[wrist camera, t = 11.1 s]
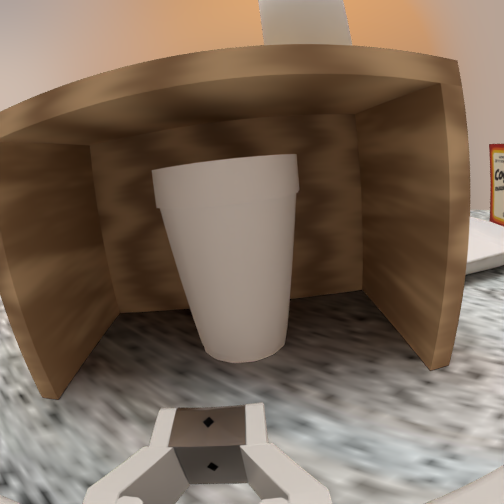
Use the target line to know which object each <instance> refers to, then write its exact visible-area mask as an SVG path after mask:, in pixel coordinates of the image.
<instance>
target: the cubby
mask: <svg viewBox="0 0 504 504" xmlns="http://www.w3.org/2000/svg"><path fill="white" fill-rule="evenodd" d="M466 122H467V121H466V112H465V105H464V98H463V90H462V84H461V79H460V72H459V67H458V62H457V61H456V60H452V59H447V58H443V57H437V56H432V55H427V54H421V53H415V52H408V51H401V50H393V49H384V48H375V47H364V46H350V45H329V44H283V45H261V46H248V47H236V48H226V49H217V50H210V51H202V52H196V53H189V54H183V55H177V56H172V57H167V58H162V59H156V60H152V61H147V62H143V63H138V64H135V65H130V66H126V67H122V68H118V69H115V70H111V71H107V72H104V73H100V74H97V75H94V76H91V77H87V78H84V79H81V80H78V81H75V82H72V83H69V84H66V85H63V86H61V87H58V88H55V89H53V90H50V91H48V92H45V93H42V94H40V95H37V96H35V97H32V98H30V99H27V100H25V101H23V102H20V103H18V104H16V105H14V106H12V107H9V108H8V109H5V110H3V111H1V112H0V295H1V298H2V301H3V304H4V307H5V310H6V313H7V316H8V319H9V322H10V325H11V327H12V330H13V333H14V335H15V338H16V340H17V343H18V345H19V348H20V350H21V353H22V355H23V357H24V360H25V362H26V364H27V367H28V369H29V371H30V373H31V375H32V377H33V380H34V382H35V384H36V386H37V388H38V390H39V392H40V394H41V396H42V397H43V398H50V399H59V398H60V396H61V395H62V393H63V392H64V390H65V389H66V387H67V386H68V384H69V383H70V382H71V380H72V379H73V377H74V376H75V374H76V373H77V371H78V370H79V369H80V367H81V366H82V364H83V363H84V361H85V360H86V359H87V357H88V356H89V354H90V353H91V352H92V350H93V349H94V347H95V346H96V345H97V343H98V342H99V340H100V339H101V338H102V336H103V335H104V334H105V332H106V331H107V330H108V328H109V327H110V326H111V324H112V323H113V321H114V320H115V319H116V317H117V316H118V315H119V313H130V312H147V311H163V310H177V309H190V306H189V303H188V300H187V297H186V294H185V291H184V288H183V285H182V282H181V279H180V275H179V272H178V269H177V266H176V263H175V259H174V256H173V253H172V249H171V246H170V242H169V239H168V236H167V232H166V229H165V225H164V221H163V218H162V214H161V211H160V208H156V200H155V193H154V185H153V177H152V170H156V169H161V168H166V167H172V166H179V165H185V164H192V163H199V162H207V161H215V160H223V159H232V158H242V157H253V156H266V155H281V154H297V165H298V177H299V191H298V193H296V212H295V230H294V246H293V262H292V276H291V290H290V299H294V298H303V297H311V296H319V295H327V294H335V293H343V292H350V291H357V290H363V291H364V292H365V294H366V295H367V296H368V297H369V298H370V299H371V300H372V302H373V303H374V304H375V305H376V306H377V307H378V308H379V310H380V311H381V312H382V313H383V314H384V315H385V317H386V318H387V319H388V320H389V321H390V322H391V324H392V325H393V326H394V327H395V328H396V330H397V331H398V332H399V333H400V334H401V336H402V337H403V338H404V339H405V340H406V342H407V343H408V344H409V345H410V346H411V348H412V349H413V350H414V351H415V352H416V354H417V355H418V356H419V357H420V359H421V360H422V361H423V362H424V364H425V365H426V366H427V367H428V368H429V370H430V371H431V370H434V369H438V368H441V367H444V366H448V365H449V363H450V359H451V354H452V350H453V346H454V341H455V336H456V331H457V326H458V321H459V315H460V309H461V303H462V297H463V290H464V282H465V274H466V265H467V255H468V242H469V225H470V161H469V143H468V131H467V123H466Z"/></svg>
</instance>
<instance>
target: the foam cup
mask: <svg viewBox="0 0 504 504" xmlns="http://www.w3.org/2000/svg"><path fill="white" fill-rule="evenodd" d="M152 177H153V185H154V193H155V200H156V208H160V211H161V214H162V218H163V221H164V225H165V229H166V232H167V236H168V239H169V242H170V246H171V249H172V253H173V256H174V259H175V263H176V266H177V269H178V272H179V275H180V279H181V282H182V285H183V288H184V291H185V294H186V297H187V300H188V303H189V306H190V309H191V312H192V315H193V318H194V321H195V324H196V327H197V330H198V333H199V336H200V339H201V341H202V344H203V345H204V348H205V352H206V353H208V354H209V355H211V356H212V357H213V358H215V359H216V360H221V361H226V362H231V363H244V362H255V361H258V360H261V359H263V358H266V357H269V356H271V355H274V354H275V353H276V352H277V351H278V350H279V349H280V348H282V347H283V346H284V345H285V340H286V335H287V334H286V332H287V327H288V315H289V303H290V290H291V276H292V262H293V246H294V230H295V212H296V193H298V191H299V177H298V165H297V154H281V155H266V156H253V157H242V158H232V159H223V160H215V161H207V162H199V163H192V164H185V165H179V166H172V167H166V168H161V169H156V170H152Z"/></svg>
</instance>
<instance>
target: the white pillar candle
mask: <svg viewBox="0 0 504 504" xmlns="http://www.w3.org/2000/svg"><path fill="white" fill-rule="evenodd" d="M258 1H259V9H260V16H261V23H262V30H263V39H264V45H283V44H329V45H350V46H352V41H351V36H350V31H349V26H348V21H347V16H346V12H345V7H344V3H343V0H258Z"/></svg>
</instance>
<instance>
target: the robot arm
mask: <svg viewBox="0 0 504 504" xmlns="http://www.w3.org/2000/svg"><path fill="white" fill-rule="evenodd" d="M237 483H249V485H250V486H251V488H252V489H253V490H254V491H255V492H256V494H257V495H258V496H259V497H260V498H261V500H262V501H261V502H260V503H259V504H332V501H331V497H330V493H329V489H328V488H326V487H325V486H324V485H322V484H321V483H320V482H319V481H317V480H316V479H315V478H314V477H312V476H311V475H310V474H309V473H308V472H306V471H305V470H304V469H303V468H302V467H300V466H299V465H298V464H297V463H296V462H294V461H293V460H292V459H291V458H290V457H289V456H287V455H286V454H285V453H284V452H283V451H282V450H281V449H279V448H278V447H277V446H276V445H275V444H274V443H269V442H268V434H267V426H266V417H265V409H264V403H254V404H246V405H236V406H223V407H205V408H161V409H160V410H159V412H158V416H157V419H156V422H155V426H154V429H153V433H152V436H151V440H150V443H149V447H147V446H144V447H142V448H141V449H140V450H139V451H137V452H136V453H135V454H133V455H132V456H131V457H130V458H128V459H127V460H126V461H124V462H123V463H122V464H120V465H119V466H118V467H116V468H115V469H114V470H113V471H111V472H110V473H109V474H107V475H106V476H104V477H103V478H102V479H100V480H99V481H98V482H96V483H95V484H94V485H92V486H91V487H89V488H88V490H87V493H86V495H85V498H84V501H83V503H82V504H175V503H176V502H177V501H178V500H179V498H180V497H181V496H182V495H183V494H184V492H185V491H186V490H187V489H188V488H189V486H190V485H189V484H237ZM0 504H20V503H18V502H15V501H13V500H11V499H8V498H6V497H4V496H1V495H0ZM425 504H504V465H503V466H501V467H499V468H498V469H496V470H494V471H492V472H491V473H489V474H487V475H485V476H483V477H481V478H479V479H478V480H476V481H474V482H472V483H470V484H468V485H466V486H464V487H462V488H459V489H457V490H455V491H453V492H451V493H449V494H446V495H444V496H442V497H439V498H437V499H435V500H432V501H430V502H427V503H425Z"/></svg>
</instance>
